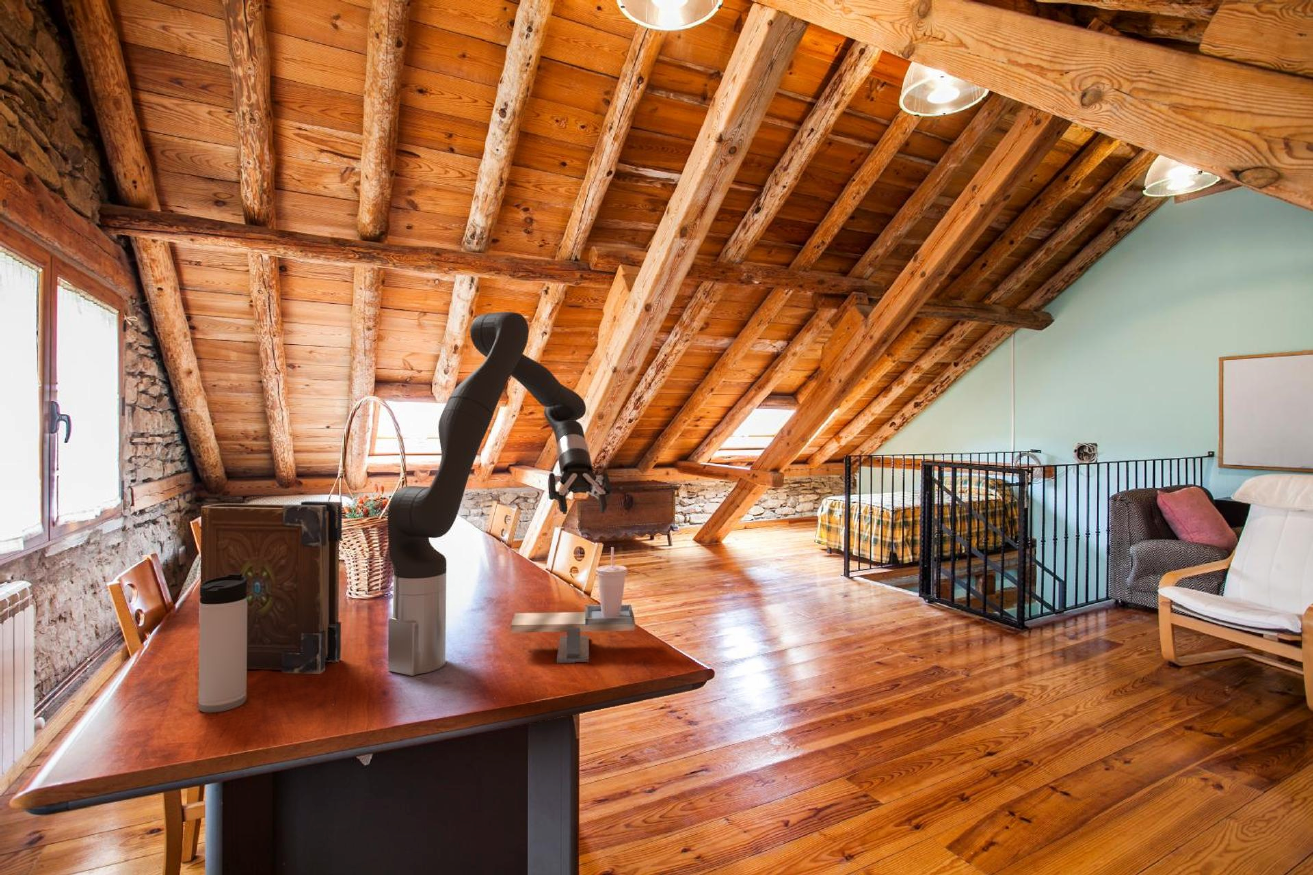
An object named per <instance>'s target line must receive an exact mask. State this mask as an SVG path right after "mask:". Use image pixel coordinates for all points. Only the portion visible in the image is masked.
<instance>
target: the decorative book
mask: <svg viewBox="0 0 1313 875" xmlns="http://www.w3.org/2000/svg"><path fill="white" fill-rule="evenodd" d="M342 530H343V501H316V500H315V501H310V500H309V501H308V500H307V501H302V502H300V504H292V503H291V504H286V503H284V504H281V503H280V504H278V503H275V504H274V503H216V504H208V505H202V506H200V585H201V584H202V583H203V582H205V581H208V580H211V579H214V578H218V577H224V576H228V575H229V574H242V576H244V577H246V578H247V591H246V592H247V600H246V601H247V670H248V669H249V670H276V671H277V670H278V671H279V670H281V673H282V674H310V675H311V674H313V675H314V674H315V675H317V674H318V675H319V674H323V673H324V672H325V671H326V663H325V662H332V663H331V664H337V663H338V662H340V661H341V660H342V653H341V652H342V636H341V635H342V621H339V617H340V616H339V614H340V613H339V606H340V605H339V604H340V602H339V600H340V598H339V597H340V595H339V593H340V587H339V586H340V541H342V537H343V536H342V535H343V531H342ZM339 660H340V661H339ZM336 662H337V663H336Z"/></svg>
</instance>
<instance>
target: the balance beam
mask: <svg viewBox="0 0 1313 875" xmlns="http://www.w3.org/2000/svg"><path fill="white" fill-rule="evenodd" d="M584 608H585V609H584V611H579V612H575V611H574V612H517V613H516V612H515V613H514V614H513V615H514V616H513V618H512V621H511V624H510V634H514V633H515V634H518V633H519V634H522V633H523V634H525V633H526V634H527V633H557V632H558V633H561V632H562V633H567V628H579V627H580V633H581V632H615V631H616V632H619V631H620V632H623V631H624V632H625V631H636V620H635V615H634V611H633V608H632V604H622V606H621V613H620V617H611V618H603V617H602V612H601V604H595V605H594V604H593V605H592V604H589V605H585V607H584Z"/></svg>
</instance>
